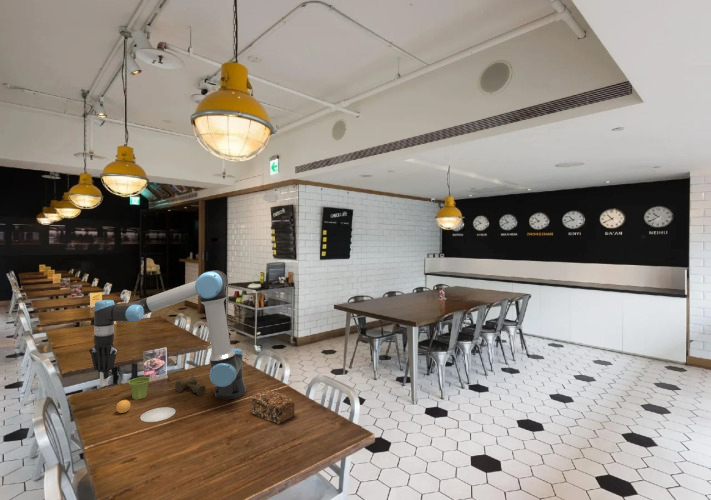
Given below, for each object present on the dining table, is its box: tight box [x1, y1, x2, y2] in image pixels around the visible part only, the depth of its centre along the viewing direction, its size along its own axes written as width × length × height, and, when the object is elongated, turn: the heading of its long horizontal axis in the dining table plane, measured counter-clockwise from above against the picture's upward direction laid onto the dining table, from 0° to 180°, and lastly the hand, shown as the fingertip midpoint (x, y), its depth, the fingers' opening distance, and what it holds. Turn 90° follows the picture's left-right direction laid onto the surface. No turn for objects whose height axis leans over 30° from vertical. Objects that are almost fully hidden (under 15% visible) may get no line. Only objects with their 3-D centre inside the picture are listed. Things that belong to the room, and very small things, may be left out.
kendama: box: [174, 376, 207, 396], centre depth 192 cm, size 6×10×20 cm
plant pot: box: [128, 376, 151, 401], centre depth 183 cm, size 9×9×9 cm
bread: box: [249, 389, 296, 424], centre depth 166 cm, size 19×11×10 cm, turn 56°
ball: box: [116, 399, 131, 414], centre depth 167 cm, size 6×6×6 cm
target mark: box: [139, 406, 176, 423], centre depth 165 cm, size 14×14×1 cm
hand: (103, 385), depth 168 cm, fingers closed
